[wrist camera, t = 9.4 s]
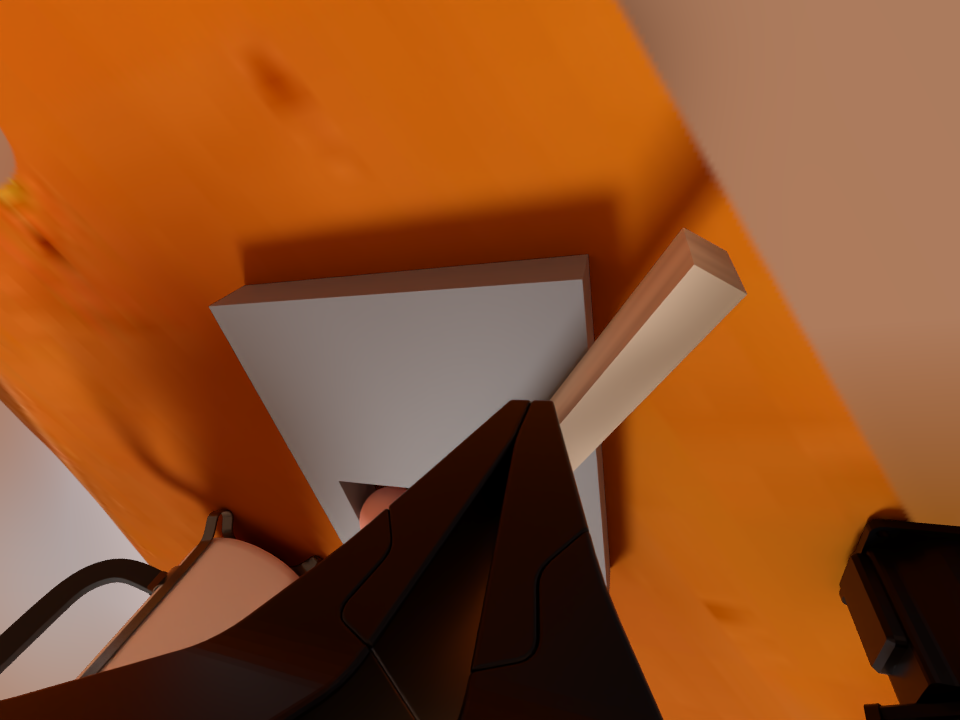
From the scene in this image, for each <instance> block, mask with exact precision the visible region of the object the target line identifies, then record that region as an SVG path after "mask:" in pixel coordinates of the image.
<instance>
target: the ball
mask: <svg viewBox="0 0 960 720" xmlns="http://www.w3.org/2000/svg"><path fill="white" fill-rule="evenodd" d="M407 490H408V489H406V488H403V487H394V486H386V487H383V488H380V489H378V490H376V491H375V492H374V493H372V494H371V495H370V496H369V497H368V498H367V500H366V501H365V503H364V504H363V507H362V509H361V512H360V519H359V523H360V529H362V528H364V527H365V526H366V525H367V524H368V523H370V522H371V521H372V520H373V519H374V518H375V517H376V516H378V515H379V514H380V513H381V512H382V511H383V510H384V509H389V505H390V504H392V503H393V502H394V501H395V500H396V499H397V498H398V497H400V496H401V495H402V494H403V493H404V492H405V491H407Z"/></svg>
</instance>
